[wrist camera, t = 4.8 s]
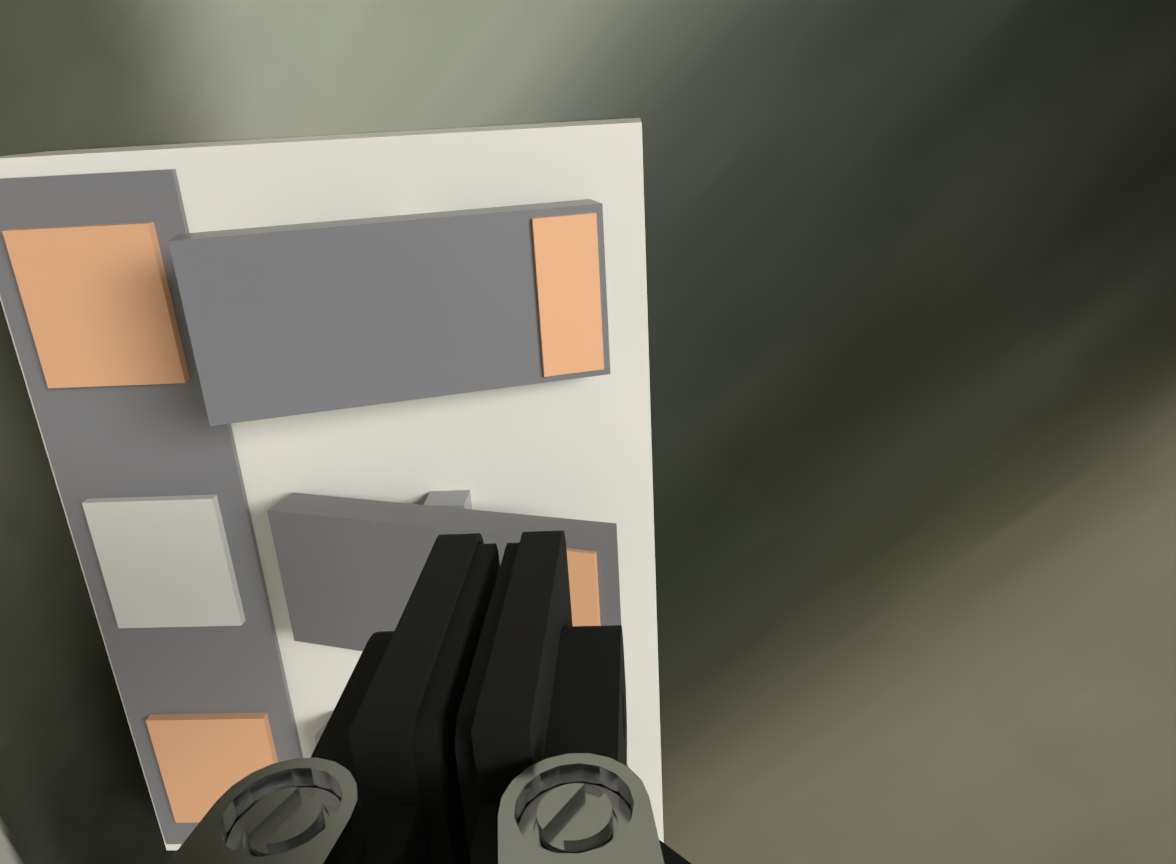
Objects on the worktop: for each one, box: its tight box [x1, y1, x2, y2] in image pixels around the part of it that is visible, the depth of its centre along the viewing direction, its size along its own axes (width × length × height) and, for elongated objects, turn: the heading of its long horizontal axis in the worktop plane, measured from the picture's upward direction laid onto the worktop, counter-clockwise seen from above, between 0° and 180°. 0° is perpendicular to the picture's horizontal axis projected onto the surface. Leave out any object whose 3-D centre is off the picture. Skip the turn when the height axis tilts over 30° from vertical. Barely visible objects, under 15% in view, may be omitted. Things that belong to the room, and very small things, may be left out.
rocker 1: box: [168, 199, 610, 426], centre depth 22 cm, size 4×10×1 cm, turn 93°
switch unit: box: [0, 118, 664, 850], centre depth 28 cm, size 24×18×5 cm
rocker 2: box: [267, 493, 621, 651], centre depth 25 cm, size 4×10×1 cm, turn 93°
